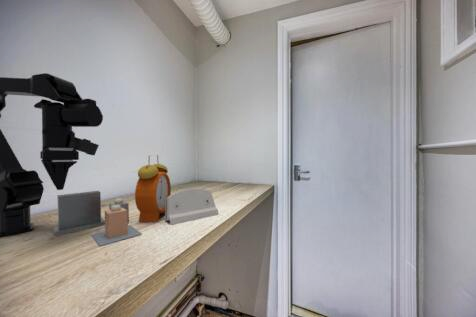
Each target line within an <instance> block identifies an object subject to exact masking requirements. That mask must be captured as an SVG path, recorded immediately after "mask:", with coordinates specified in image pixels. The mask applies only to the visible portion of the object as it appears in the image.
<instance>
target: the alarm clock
mask: <svg viewBox="0 0 476 317" xmlns="http://www.w3.org/2000/svg"><path fill="white" fill-rule="evenodd" d="M151 156H152V155H148V164H146V165H143V166H141V167H140V168H139V169H138V171H137V176H138V180H137V182H136V184H135V185H136V186H135V193H134V200H135V206H136V209H137V210H138V211H139V217H138V223H156V222H158V221H159V220H160V215H165V201H166V198H167V197H168V196H170V195H172V194H171V190H172V188H171V187H172V186H171V185H172V184H171V180H170V176H169V175H168V171H169V169H168V168H167V166H166V165H164V164H161V163H159V155H157V154H156V158H157V160H156V162H157V163H154V164H150V160H151Z"/></svg>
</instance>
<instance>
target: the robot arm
mask: <svg viewBox="0 0 476 317" xmlns="http://www.w3.org/2000/svg"><path fill="white" fill-rule="evenodd" d="M8 95H9V96H25V97H26V96H27V97H40V98H41V97H42V99H41V100H40V101H38V102H36V103H35V104H33V107H34V109H35V108H36V109H38V110H39V109H40V110H41V129H42V130H41V135H42V136H41V138H42V141H41V142H42V143H41V144H42V147H41V149H42V150H40V154H39V156H40V159H41V164H42V165H43V167H44V169H45V171H46V172H47V175H48V176H49V178H50V181H51V182H52V184H53V185H54V187H55V188H56V191H62V190H63V191H64V188H65V185H66V180H67V178H68V173H69V170H70V168H71V167H73V166H75V164H77V163H78V160H79V159H80V158H79V157H80V154H79V152H81V153H85V155H90V156H95V155H96V154H97V151H98V148H99V146H100V144H98V143H94V142H92V141H91V140H90V139H86V138H79V137H76V133H75V131H74V130H73V127H74V128H79V127H81V128H87V127H88V128H94V127H99V126H101V124H102V122H103V121H104V115H103V114H102V111H101V109H100V107H99V106H97V101H96V100H95V99H92V98H82V97H81V95H80V94H79V92H78V91H77V89H76V85H74V83H73V82H71V81H68V80H66V79H64V78H61V77H58V76H56V75H52V74H50V73H47V72H46V73H38V74H36V73H35V74H33V75H31V77H29V78H25V77H24V78H23V77H22V78H21V77H5V76H3V77H1V76H0V119H1V118H2V114H1V112H2V111H3V110H4V109H5V108H6V106H7V105H6V104H7V102H6V97H8ZM44 98H45V99H44ZM48 99H49V100H48ZM6 138H7V137H6V136H5V134H4V132H3V131H2V129H1V128H0V237H5V236H9V235H10V236H11V235H15V234H20V233H26V232H31V231H34V223H33V222H32V220H31V219H32V217H31V206H36V205H39V204H40V203H41V200H42V197H43V193H44V190H45V188H44V185H43V183H44V181H43V180H41V178H40V176H39V174H38V172H37V171H36V170H26V169H24V168H23V166H22V164H21V163H20V161H19V159H18V157H17V156H16V154H15V152H14V151H13V148H12V146H10V144H9V142H8V140H7V139H6Z"/></svg>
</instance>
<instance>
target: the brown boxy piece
mask: <svg viewBox="0 0 476 317" xmlns="http://www.w3.org/2000/svg"><path fill="white" fill-rule="evenodd" d="M104 220H105V225H104V231H105V235H106V236H107V237H108V238H109V239H111V238H114V237H118V236H122V235H125V234H128V225H129V223H128V222H127V210H126V209H124V208H121V207H120V205H113V206H111V210H109V209H106V210H104Z"/></svg>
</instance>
